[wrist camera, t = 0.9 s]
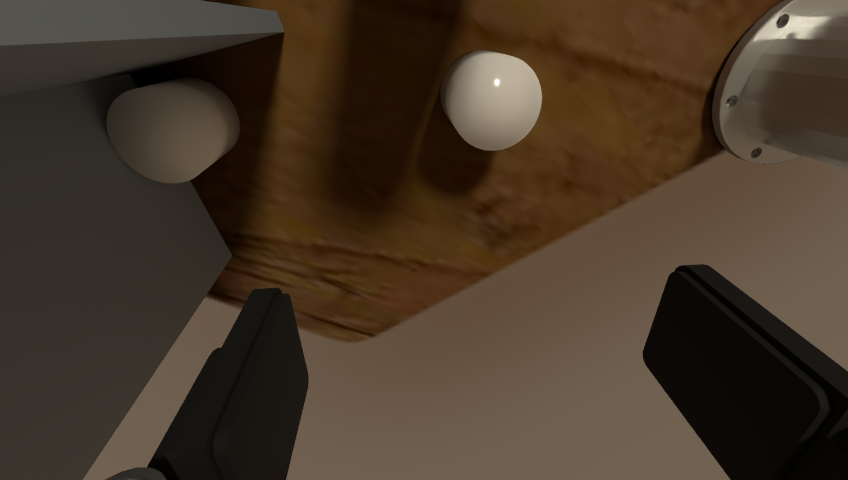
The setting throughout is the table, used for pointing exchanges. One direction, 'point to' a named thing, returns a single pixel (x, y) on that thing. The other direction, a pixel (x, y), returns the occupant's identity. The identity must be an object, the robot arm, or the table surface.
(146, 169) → the cream rounded knob
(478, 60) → the cream smooth rounded cylinder
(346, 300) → the table surface
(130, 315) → the counter
